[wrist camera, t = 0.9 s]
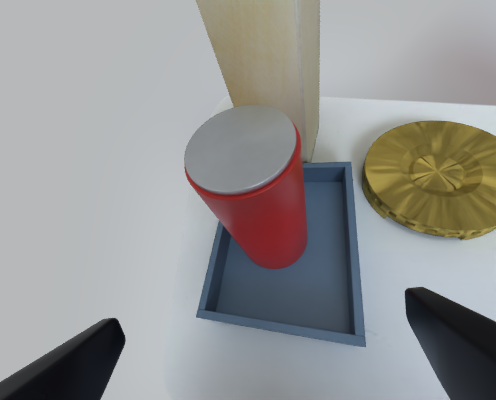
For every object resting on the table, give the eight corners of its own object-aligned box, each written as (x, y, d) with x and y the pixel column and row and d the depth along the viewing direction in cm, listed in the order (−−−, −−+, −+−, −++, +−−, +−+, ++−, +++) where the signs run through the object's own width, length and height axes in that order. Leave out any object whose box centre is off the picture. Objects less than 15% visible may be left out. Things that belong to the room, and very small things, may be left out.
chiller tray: (358, 346, 17) (366, 347, 15) (210, 320, 21) (195, 317, 18) (347, 180, 25) (351, 161, 22) (239, 181, 28) (231, 165, 25)
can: (306, 272, 20) (297, 196, 9) (238, 265, 22) (164, 195, 11) (308, 208, 23) (303, 95, 13) (248, 207, 25) (198, 108, 14)
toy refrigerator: (265, 123, 32) (206, -131, 15) (319, 124, 30) (325, -183, 12) (248, 168, 29) (147, -95, 11) (308, 173, 26) (294, -156, 9)
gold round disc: (376, 129, 27) (380, 114, 25) (514, 147, 22) (531, 130, 20) (347, 214, 23) (350, 204, 21) (511, 263, 18) (533, 254, 16)
